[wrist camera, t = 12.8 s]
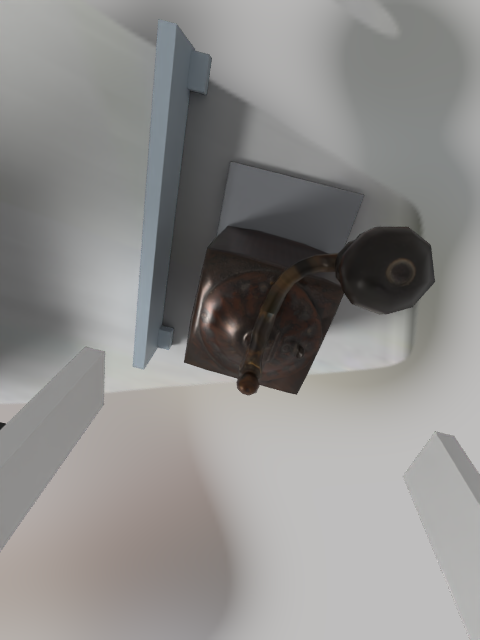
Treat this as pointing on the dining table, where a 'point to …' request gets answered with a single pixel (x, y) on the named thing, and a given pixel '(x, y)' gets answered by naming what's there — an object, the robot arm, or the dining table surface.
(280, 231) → the slate mat
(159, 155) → the low wall
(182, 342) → the dining table surface
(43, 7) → the dining table surface
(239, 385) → the coffee grinder
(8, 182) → the dining table surface
